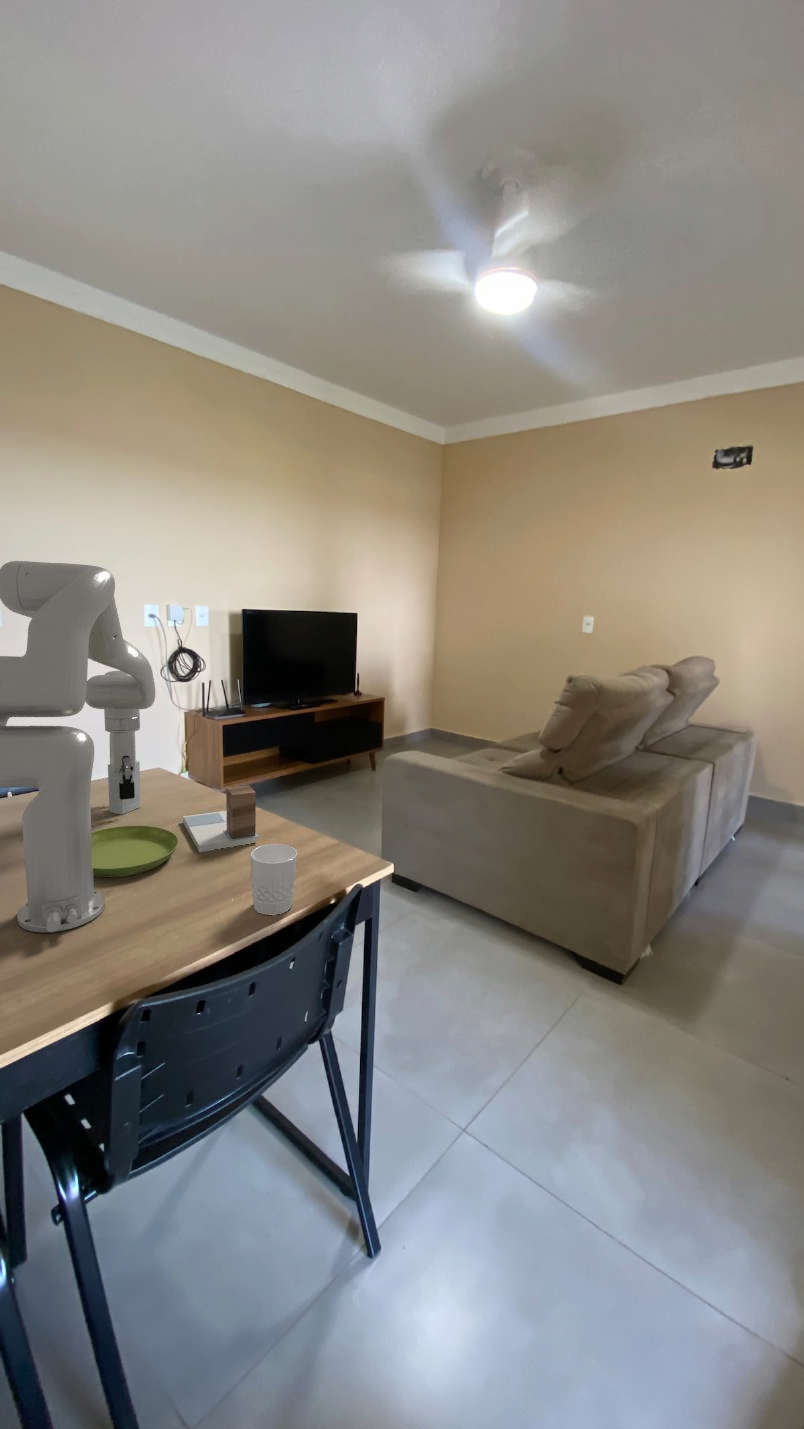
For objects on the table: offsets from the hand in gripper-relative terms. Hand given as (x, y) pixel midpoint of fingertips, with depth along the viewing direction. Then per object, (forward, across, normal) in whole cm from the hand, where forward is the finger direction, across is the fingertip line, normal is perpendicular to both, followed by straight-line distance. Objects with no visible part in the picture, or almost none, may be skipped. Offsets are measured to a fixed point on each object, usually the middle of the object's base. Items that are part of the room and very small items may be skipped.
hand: (124, 792), depth 143 cm
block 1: (-2, +28, +20) cm, 35 cm away
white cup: (+4, +58, +18) cm, 61 cm away
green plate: (+5, +28, -3) cm, 29 cm away
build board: (+4, +22, +17) cm, 28 cm away
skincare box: (+5, 0, 0) cm, 5 cm away
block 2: (+3, +28, +20) cm, 35 cm away
